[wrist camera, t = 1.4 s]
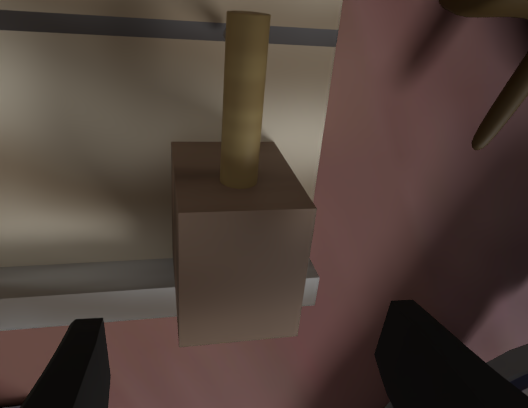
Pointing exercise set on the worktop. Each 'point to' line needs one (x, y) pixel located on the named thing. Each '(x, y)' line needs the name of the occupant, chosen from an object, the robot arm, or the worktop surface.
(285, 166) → the brown handled block
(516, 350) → the gun
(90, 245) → the board
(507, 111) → the kendama
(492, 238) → the worktop surface
